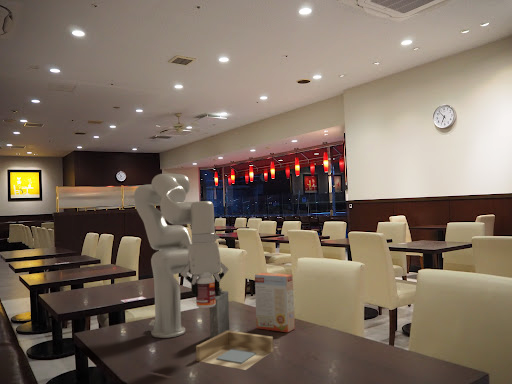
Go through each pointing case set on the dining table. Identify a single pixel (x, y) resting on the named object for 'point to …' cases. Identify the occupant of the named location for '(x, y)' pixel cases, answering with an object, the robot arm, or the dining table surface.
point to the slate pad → (236, 356)
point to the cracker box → (274, 302)
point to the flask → (219, 314)
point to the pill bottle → (205, 291)
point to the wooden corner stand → (234, 341)
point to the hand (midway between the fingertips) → (205, 294)
